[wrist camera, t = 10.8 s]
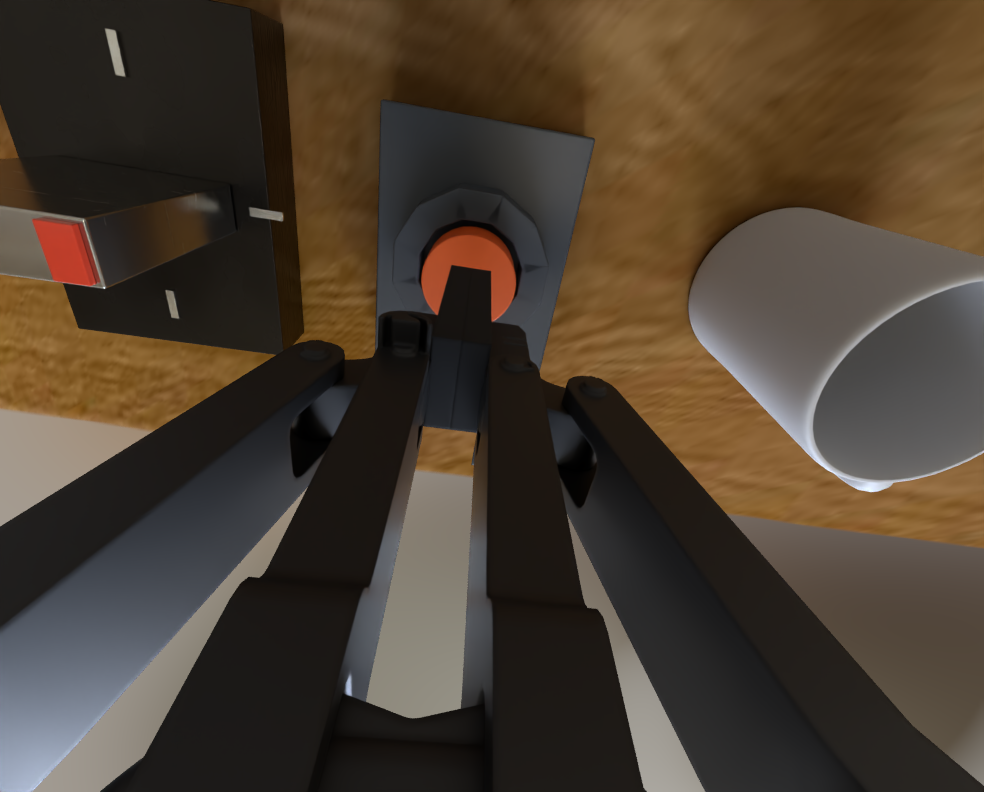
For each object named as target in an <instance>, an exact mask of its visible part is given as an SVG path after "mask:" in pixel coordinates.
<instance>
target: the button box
mask: <svg viewBox="0 0 984 792" xmlns="http://www.w3.org/2000/svg"><path fill="white" fill-rule="evenodd" d="M594 142H595V139H594V138H591V137H586V136H580V135H575V134H569V133H564V132H558V131H553V130H548V129H542V128H537V127H531V126H526V125H520V124H515V123H509V122H504V121H499V120H493V119H488V118H482V117H477V116H471V115H466V114H461V113H455V112H450V111H444V110H439V109H433V108H428V107H422V106H417V105H412V104H406V103H401V102H395V101H390V100H384V99H383V100H381V111H380V156H379V201H378V247H377V292H376V337H375V352H376V350H377V348H378V317H379V316H380V315H381V314H383V313H386V312H389V311H398V310H401V311H415V312H421V313H428V314H435V315H437V314H436V313H435V312H434V311H433V310H432V309H431V308H430V306H429V305H428V303H427V301H426V299H425V297H424V294H423V290H422V284H421V275H422V269H423V266H424V263H425V261H426V258H427V256H428V254H429V252H430V250H431V248H432V246H433V245H434V243H435V242H436V241H437V240H438V239H439V238H440V237H441V236H442V235H443V234H445V233H446V232H448V231H450V230H452V229H455V228H458V227H463V226H474V227H480V228H483V229H486V230H488V231H490V232H492V233H494V234H495V235H496V236H498V237H499V238H500V239H501V240H502V241H503V242H504V244H505V245H506V246H507V248H508V250H509V251H510V254H511V256H512V259H513V264H514V270H515V276H516V288H515V293H514V297H513V299H512V302H511V304H510V305H509V307H508V308H507V310H506V311H505V312H504V313H503V314H502V315H501V316H500V317H499V318H498V319H496V320H495V321H493V322H498V323H505V324H512V325H518V326H519V327H520V328H521V329H522V330H523V331H524V332H525V333H526V338H527V344H528V350H529V356H530V360H531V361H532V362H534V363H535V364H536V365H537V367H538V368H539V371H540V367H541V363H542V359H543V355H544V350H545V346H546V342H547V338H548V334H549V330H550V325H551V321H552V317H553V313H554V309H555V305H556V301H557V296H558V292H559V288H560V284H561V280H562V276H563V271H564V267H565V263H566V259H567V255H568V251H569V246H570V242H571V238H572V234H573V230H574V226H575V221H576V217H577V213H578V209H579V205H580V201H581V196H582V192H583V188H584V184H585V180H586V176H587V171H588V167H589V163H590V159H591V155H592V151H593V146H594Z"/></svg>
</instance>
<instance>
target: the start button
mask: <svg viewBox="0 0 984 792" xmlns="http://www.w3.org/2000/svg"><path fill="white" fill-rule="evenodd" d="M451 265H456V266H462V267H469V268H475V269H481V270H488V271H491V317H492V322H493V321H495V320H496V319H498V318H499V317H500V316H501V315H502V314H503V313H504V312H505V311H506V310H507V308H508V307H509V305H510V304H511V302H512V299H513V297H514V293H515V288H516V276H515V270H514V264H513V259H512V256H511V254H510V251H509V250H508V248H507V246H506V245H505V244H504V242H503V241H502V240H501V239H500V238H499V237H498V236H496V235H495V234H494V233H492V232H490V231H488V230H486V229H483V228H480V227H474V226H463V227H458V228H455V229H452V230H450V231H448V232H446V233H445V234H443V235H442V236H441V237H440V238H439V239H438V240H437V241H436V242H435V243H434V245H433V246H432V248H431V250H430V252H429V254H428V256H427V258H426V261H425V263H424V266H423V269H422V275H421V284H422V290H423V294H424V297H425V299H426V301H427V303H428V305H429V306H430V308H431V309H432V310H433V311H434V312H435V313H436V314H437V315H438V311H439V308H440V304H441V301H442V297H443V293H444V290H445V286H446V283H447V279H448V275H449V272H450V268H451Z"/></svg>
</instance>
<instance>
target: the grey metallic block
mask: <svg viewBox="0 0 984 792" xmlns="http://www.w3.org/2000/svg"><path fill="white" fill-rule="evenodd" d="M235 232H236V227H235V219H234V212H233V205H232V197H231V190H230V185H229V184H227V183H221V182H215V181H209V180H203V179H196V178H190V177H184V176H178V175H172V174H166V173H160V172H154V171H148V170H142V169H135V168H129V167H123V166H117V165H111V164H105V163H99V162H93V161H87V160H81V159H75V158H68V157H62V156H56V155H49V156H36V157H22V158H9V159H0V274H4V275H11V276H18V277H25V278H32V279H39V280H46V281H53V282H60V283H67V284H74V285H81V286H88V287H95V288H102V289H106V288H108V287H111V286H113V285H115V284H118V283H120V282H122V281H125V280H127V279H129V278H131V277H134V276H136V275H138V274H141V273H143V272H145V271H148V270H150V269H152V268H154V267H157V266H159V265H161V264H164V263H166V262H168V261H171V260H173V259H175V258H177V257H180V256H182V255H184V254H187V253H189V252H191V251H194V250H196V249H198V248H200V247H203V246H205V245H207V244H210V243H212V242H214V241H217V240H219V239H221V238H223V237H226V236H228V235H230V234H233V233H235Z"/></svg>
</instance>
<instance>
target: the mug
mask: <svg viewBox="0 0 984 792" xmlns="http://www.w3.org/2000/svg"><path fill="white" fill-rule="evenodd" d="M688 309H689V318H690V322H691V326H692V328H693V331H694V333H695V335H696V337H697V338H698V340H699V341H700V342H701V344H702V345H703V346H704V347H705V348H706V349H707V350H708V351H709V352H710V353H711V354H712V355H713V356H714V357H715V358H716V359H717V360H718V361H719V362H720V363H721V364H722V365H723V366H724V367H725V368H726V369H727V370H728V371H729V372H730V373H731V374H732V375H733V376H734V377H735V378H736V379H737V380H738V381H739V382H740V383H741V384H742V385H743V386H744V388H745V389H746V390H747V391H748V392H749V393H750V394H751V395H752V396H753V397H754V398H755V399H756V400H757V401H758V402H759V403H760V404H761V405H762V406H763V407H764V408H765V410H766V411H767V412H768V413H769V414H770V415H771V416H772V417H773V418H774V419H775V420H776V421H777V422H778V423H779V424H780V425H781V426H782V427H783V428H784V429H785V430H786V431H787V433H788V434H789V435H790V436H791V437H792V438H793V439H794V440H795V441H796V442H797V443H798V444H799V445H800V446H801V447H802V448H803V449H804V450H805V451H806V452H807V453H808V454H809V455H810V456H811V457H812V458H813V459H814V460H815V461H816V462H817V463H819V464H820V465H821V466H823V467H824V468H825V469H827V470H828V471H830V472H832V473H834V474H835V475H836V476H838V477H839V478H840V479H842V480H843V481H844V482H846V483H847V484H849V485H851V486H852V487H854V488H856V489H858V490H863V491H869V492H875V491H880V490H883V489H885V488H888V487H890V486H891V485H892V484H893V483H894V482H901V481H908V480H913V479H918V478H922V477H926V476H929V475H933V474H936V473H939V472H942V471H945V470H948V469H950V468H953V467H955V466H958V465H960V464H962V463H964V462H967V461H969V460H971V459H973V458H975V457H976V456H978V455H980V454H982V453H984V257H982V256H979V255H975V254H971V253H968V252H964V251H960V250H957V249H953V248H949V247H946V246H942V245H939V244H935V243H931V242H928V241H924V240H920V239H917V238H913V237H909V236H906V235H902V234H899V233H895V232H891V231H888V230H884V229H880V228H877V227H873V226H870V225H866V224H863V223H859V222H856V221H853V220H849V219H846V218H843V217H840V216H837V215H834V214H831V213H827V212H824V211H820V210H816V209H810V208H801V207H797V208H784V209H778V210H773V211H770V212H767V213H763V214H761V215H758V216H756V217H754V218H751V219H749V220H748V221H746V222H744V223H742V224H741V225H739V226H738V227H736V228H735V229H733V230H732V231H731V232H729V233H728V234H727V235H726V236H725V237H724V238H722V239H721V240H720V241H719V242H718V243H717V244H716V245H715V246H714V248H713V249H712V250H711V251H710V252H709V254H708V255H707V256H706V258H705V259H704V261H703V262H702V264H701V266H700V267H699V269H698V271H697V273H696V276H695V278H694V280H693V283H692V286H691V290H690V295H689V305H688Z"/></svg>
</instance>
